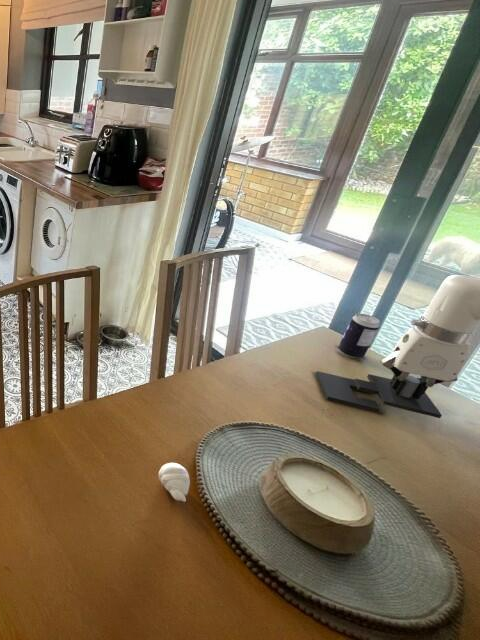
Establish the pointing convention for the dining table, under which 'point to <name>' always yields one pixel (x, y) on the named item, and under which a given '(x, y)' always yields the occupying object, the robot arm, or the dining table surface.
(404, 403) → the pad
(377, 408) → the notch pad
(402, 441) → the dining table surface
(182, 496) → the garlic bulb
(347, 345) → the beverage can
